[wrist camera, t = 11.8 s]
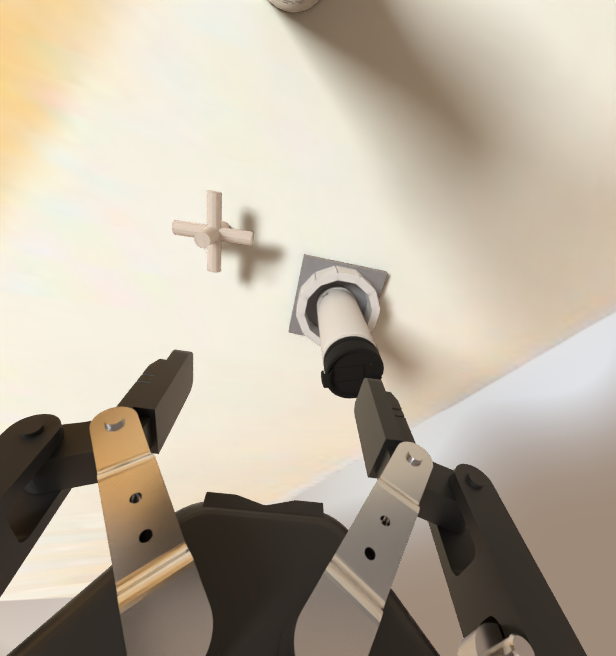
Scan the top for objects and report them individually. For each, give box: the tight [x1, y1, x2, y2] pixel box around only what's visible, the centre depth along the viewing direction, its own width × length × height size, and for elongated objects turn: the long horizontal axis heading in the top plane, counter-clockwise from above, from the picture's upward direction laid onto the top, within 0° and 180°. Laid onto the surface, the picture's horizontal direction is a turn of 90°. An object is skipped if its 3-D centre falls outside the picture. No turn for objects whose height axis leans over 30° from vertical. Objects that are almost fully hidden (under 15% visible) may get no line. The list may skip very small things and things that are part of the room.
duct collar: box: [289, 254, 388, 346], centre depth 46 cm, size 13×13×5 cm
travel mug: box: [316, 285, 384, 398], centre depth 38 cm, size 6×7×20 cm
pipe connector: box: [172, 191, 253, 272], centre depth 38 cm, size 10×10×10 cm
